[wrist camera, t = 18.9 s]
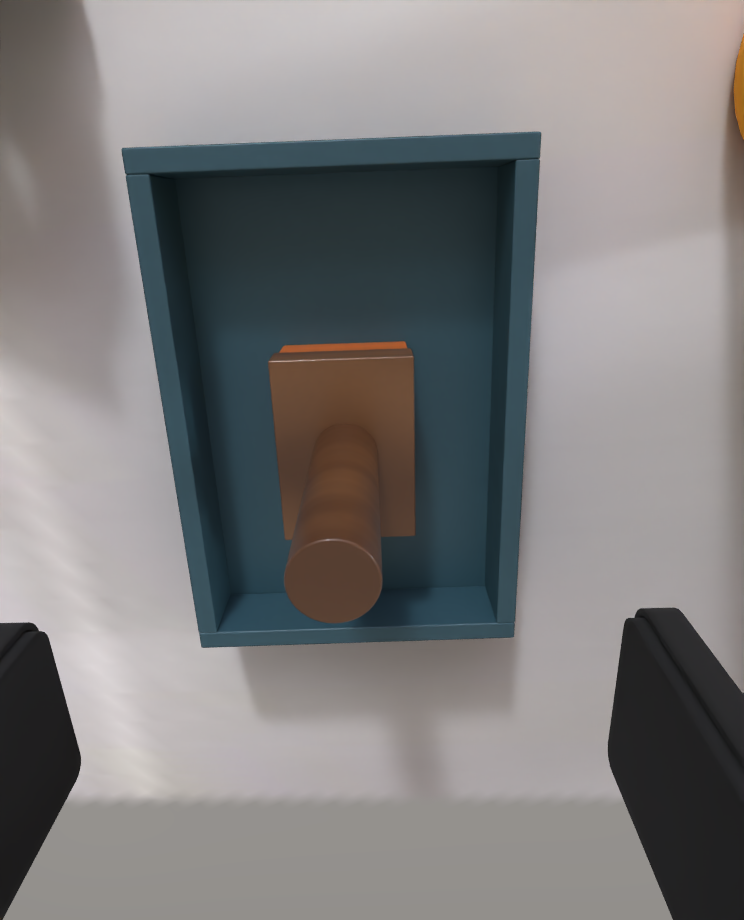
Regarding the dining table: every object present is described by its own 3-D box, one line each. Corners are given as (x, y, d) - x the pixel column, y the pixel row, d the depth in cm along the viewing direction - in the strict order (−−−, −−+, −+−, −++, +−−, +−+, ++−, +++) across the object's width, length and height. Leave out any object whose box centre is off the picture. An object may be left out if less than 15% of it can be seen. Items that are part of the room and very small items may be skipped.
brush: (280, 342, 26) (206, 446, 14) (408, 338, 26) (441, 439, 14) (294, 503, 28) (241, 704, 17) (410, 499, 28) (439, 698, 17)
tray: (158, 158, 24) (120, 147, 20) (514, 144, 24) (541, 131, 20) (221, 596, 31) (201, 648, 27) (496, 587, 31) (514, 638, 27)
